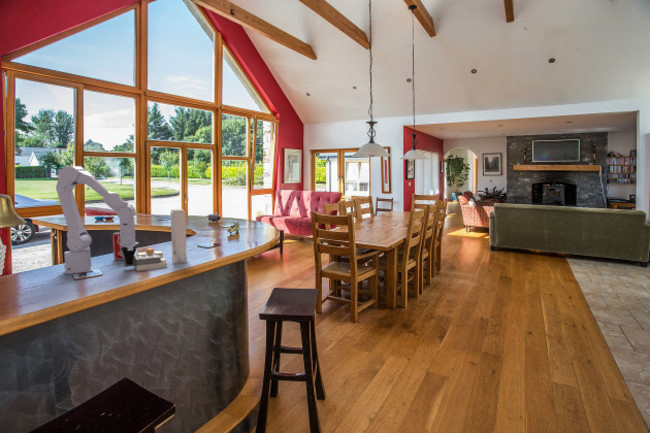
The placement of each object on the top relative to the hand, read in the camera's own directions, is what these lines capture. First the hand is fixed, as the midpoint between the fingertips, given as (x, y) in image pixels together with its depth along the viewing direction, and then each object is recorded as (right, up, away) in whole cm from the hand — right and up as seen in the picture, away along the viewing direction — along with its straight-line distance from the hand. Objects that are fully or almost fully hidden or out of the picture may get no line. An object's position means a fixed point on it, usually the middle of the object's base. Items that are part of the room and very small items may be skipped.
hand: (129, 264), depth 166 cm
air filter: (+17, -1, +14) cm, 22 cm away
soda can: (-13, 0, +18) cm, 22 cm away
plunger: (+4, +1, +10) cm, 11 cm away
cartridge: (+4, -1, +3) cm, 5 cm away
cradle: (+6, -2, +7) cm, 9 cm away
